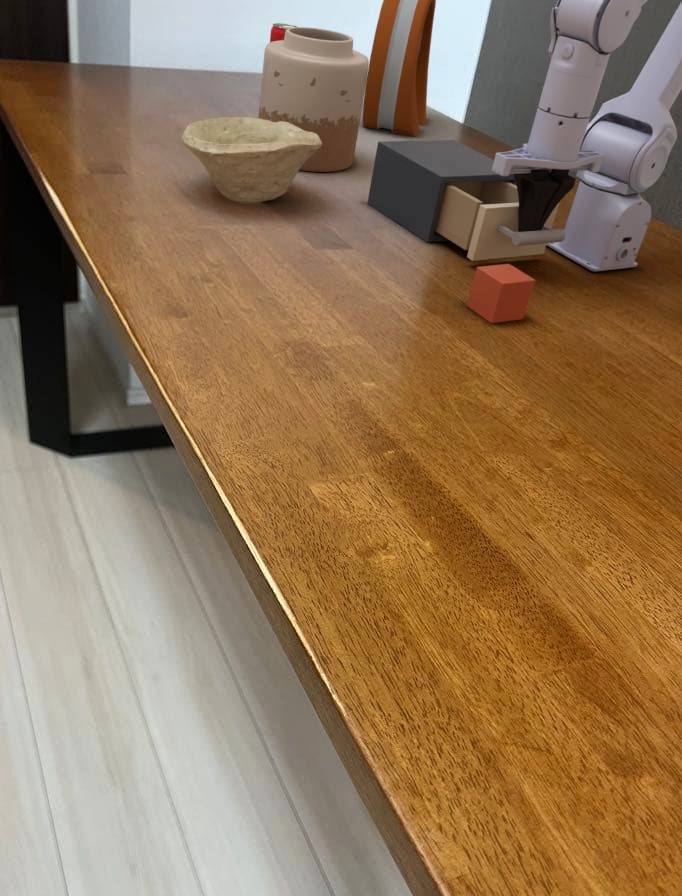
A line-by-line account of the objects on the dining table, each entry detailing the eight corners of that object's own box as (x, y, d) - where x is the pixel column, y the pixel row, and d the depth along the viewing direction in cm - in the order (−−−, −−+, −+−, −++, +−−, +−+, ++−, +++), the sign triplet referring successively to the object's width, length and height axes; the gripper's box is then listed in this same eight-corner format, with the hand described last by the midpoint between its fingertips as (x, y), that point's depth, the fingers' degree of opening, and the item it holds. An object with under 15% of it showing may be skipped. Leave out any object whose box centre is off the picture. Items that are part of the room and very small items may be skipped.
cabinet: (503, 236, 114) (521, 173, 109) (427, 242, 109) (442, 176, 104) (440, 199, 124) (453, 139, 119) (367, 203, 118) (377, 141, 113)
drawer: (568, 268, 105) (585, 216, 101) (496, 276, 100) (511, 222, 96) (478, 216, 117) (490, 168, 113) (410, 221, 112) (420, 171, 108)
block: (523, 319, 93) (535, 279, 91) (491, 323, 91) (503, 283, 89) (497, 302, 96) (509, 263, 93) (466, 306, 94) (476, 266, 92)
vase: (367, 158, 136) (388, 39, 125) (328, 179, 125) (347, 50, 114) (282, 136, 140) (295, 19, 130) (237, 155, 129) (247, 28, 119)
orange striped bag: (413, 141, 147) (444, -13, 133) (357, 131, 149) (382, -23, 134) (428, 115, 164) (457, -25, 150) (378, 105, 165) (402, -34, 151)
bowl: (250, 248, 112) (166, 166, 105) (255, 193, 125) (180, 117, 118) (329, 174, 105) (245, 81, 98) (326, 124, 118) (251, 38, 111)
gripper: (587, 101, 99) (550, 219, 108) (489, 101, 93) (458, 226, 102) (631, 118, 94) (589, 240, 103) (531, 119, 88) (495, 248, 97)
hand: (527, 235), depth 102 cm, fingers closed, pressing on drawer
